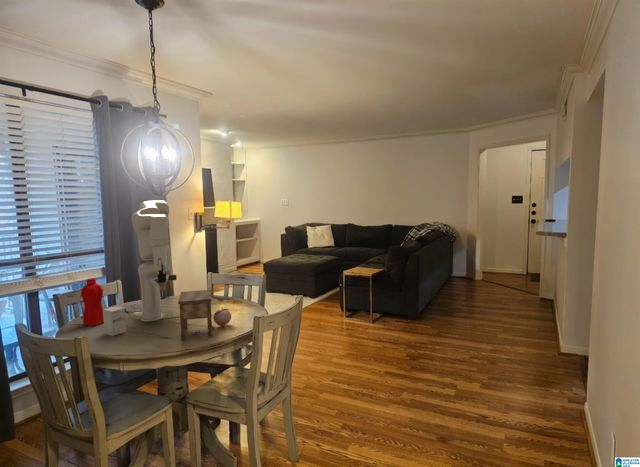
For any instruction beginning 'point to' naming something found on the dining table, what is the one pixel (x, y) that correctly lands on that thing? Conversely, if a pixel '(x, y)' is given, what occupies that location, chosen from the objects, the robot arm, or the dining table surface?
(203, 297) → the cabinet
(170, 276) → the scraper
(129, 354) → the dining table surface
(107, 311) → the supplement box
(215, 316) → the decorative fruit
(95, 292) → the water bottle
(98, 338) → the dining table surface
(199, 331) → the token
